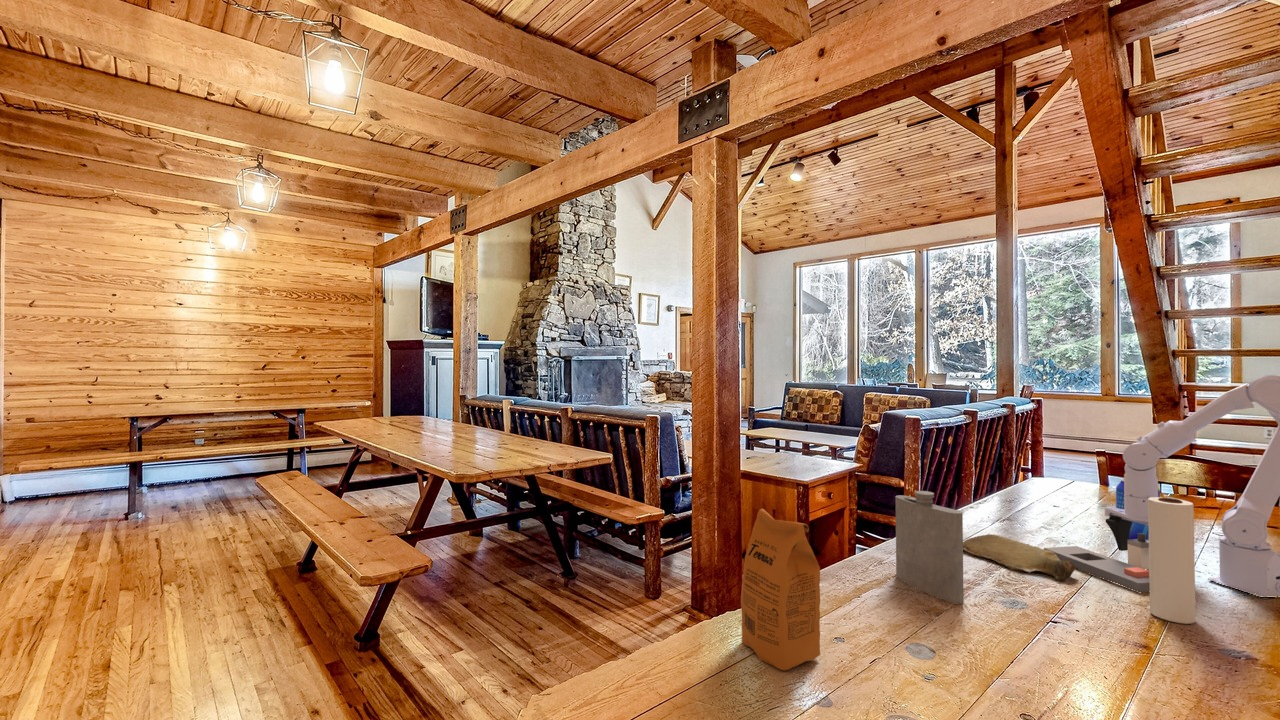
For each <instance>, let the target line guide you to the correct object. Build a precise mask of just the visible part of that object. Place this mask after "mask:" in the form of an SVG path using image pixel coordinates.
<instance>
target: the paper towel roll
mask: <svg viewBox="0 0 1280 720" xmlns="http://www.w3.org/2000/svg"><path fill="white" fill-rule="evenodd" d="M1194 509H1195V507H1194V503H1193V502H1191V501H1188V500H1184V499H1180V498H1176V497H1171V496H1168V495H1166V497H1161V496H1160V497H1151V498H1148V522H1149V570H1148V571H1149V578H1150V592H1149V611H1150V613H1151V614H1152V615H1153V616H1155V617H1157V618H1159V619H1162V620H1165V621H1169V622H1172V623H1173V622H1174V623H1176V624H1185V625H1186V624H1187V625H1188V624H1194V623H1196V620H1197V619H1196V571H1195V570H1196V569H1195V567H1196V566H1195V564H1196V563H1195V562H1196V561H1195V524H1194V523H1195V520H1194V519H1195V516H1194V515H1195V513H1194Z"/></svg>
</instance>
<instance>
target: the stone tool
mask: <svg viewBox="0 0 1280 720" xmlns="http://www.w3.org/2000/svg"><path fill="white" fill-rule="evenodd" d="M963 551H965V552H967V553H968V554H971V555H974V556H977V557H981V558H986V559H989V560H993V561H994V562H996V563H998V564H1001V565H1003V566H1006V567H1007V568H1008V569H1010V570H1012V571H1019V572H1024V573H1031V572H1042V573H1044V574H1047V575H1049V576H1053V577H1054V578H1055V580H1057V581H1059V580H1060V581H1059V582H1066V581H1067V580H1068V579H1070V577H1071V576H1072V574H1073V573H1074V572H1075V571H1076V570H1077V569H1076V567H1075V566H1074V565H1073V564H1072V562H1071V561H1069V560H1068V561H1061V560H1059V559H1058V557H1057V556H1056V554H1055V553H1054V552H1051V551H1048V550H1044V548H1040V547H1039V546H1036V545H1035V546H1034V545H1031V544H1029V543H1025V542H1020V541H1018V540H1014V539H1011V538H1007V537H1004V536H1000V535H996V534H989V533H988V534H984V535H978V536H974V537H969V538H967V539H965V540H963Z"/></svg>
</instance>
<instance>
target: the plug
mask: <svg viewBox="0 0 1280 720" xmlns="http://www.w3.org/2000/svg"><path fill="white" fill-rule="evenodd" d="M1137 534H1138V539H1129V540H1128V550H1127V564H1130V565H1133V566H1136V567H1139V568H1142V569H1148V568H1149V540H1146V534H1142V533H1137Z"/></svg>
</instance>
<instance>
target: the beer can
mask: <svg viewBox="0 0 1280 720" xmlns="http://www.w3.org/2000/svg"><path fill="white" fill-rule="evenodd" d="M1158 497H1161V494H1160V490H1159V489H1158ZM1115 508H1118V509H1124V477H1123V478H1121V479H1120V482H1119V483H1118V484H1117V486H1116V487H1115ZM1137 533H1142V534H1146V540H1149V526H1148V525H1144V524H1140V523H1136V522H1132V525H1131V528H1130V533H1129V539H1138V534H1137Z"/></svg>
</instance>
